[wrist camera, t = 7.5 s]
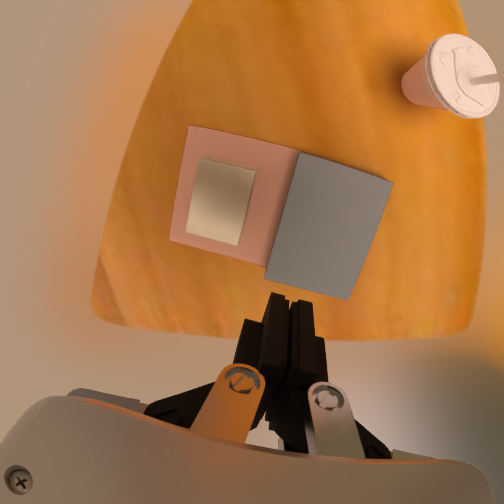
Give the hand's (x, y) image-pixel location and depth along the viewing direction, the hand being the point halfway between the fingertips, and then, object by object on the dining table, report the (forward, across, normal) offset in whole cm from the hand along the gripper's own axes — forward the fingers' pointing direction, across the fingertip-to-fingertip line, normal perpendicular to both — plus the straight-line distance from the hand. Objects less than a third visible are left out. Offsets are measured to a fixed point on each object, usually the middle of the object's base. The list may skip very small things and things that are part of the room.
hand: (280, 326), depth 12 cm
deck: (+18, -4, 0) cm, 19 cm away
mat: (+18, +6, 0) cm, 19 cm away
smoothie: (+19, -9, -16) cm, 26 cm away
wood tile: (+17, +6, 0) cm, 18 cm away
